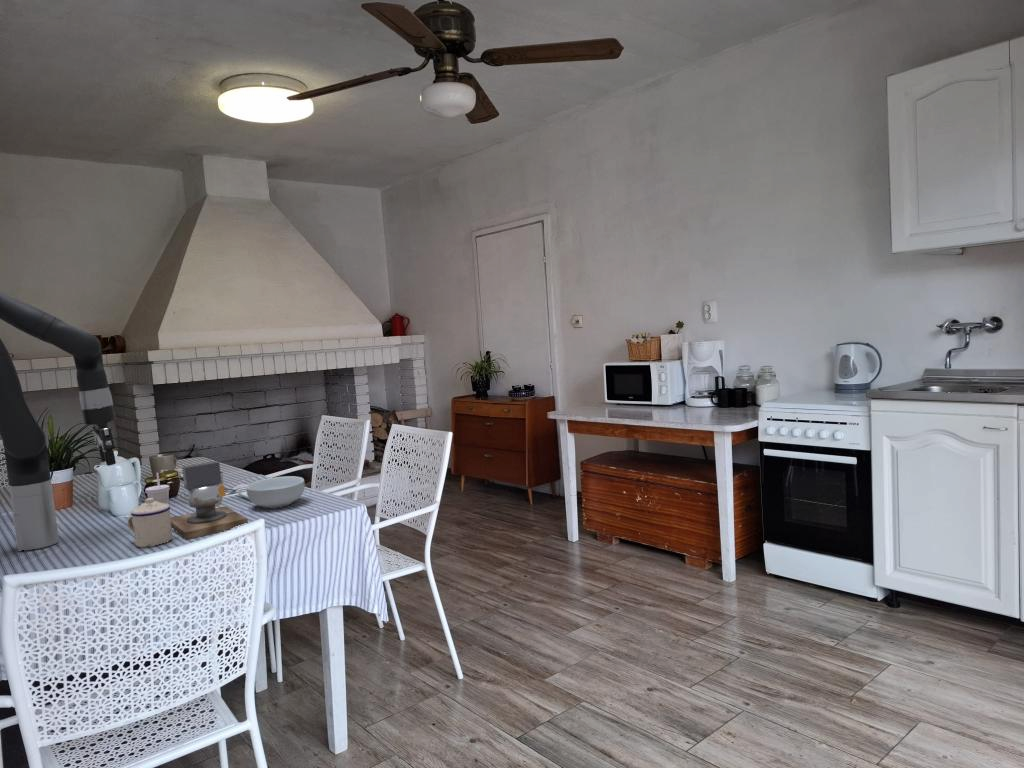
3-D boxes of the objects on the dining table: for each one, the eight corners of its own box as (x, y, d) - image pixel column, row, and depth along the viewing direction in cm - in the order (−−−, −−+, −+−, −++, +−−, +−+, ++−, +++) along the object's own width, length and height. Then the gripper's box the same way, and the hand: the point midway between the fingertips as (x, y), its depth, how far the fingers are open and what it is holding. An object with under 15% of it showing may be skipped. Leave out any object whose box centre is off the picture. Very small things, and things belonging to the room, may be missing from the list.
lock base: (185, 539, 181) (183, 517, 181) (168, 525, 197) (165, 504, 196) (248, 525, 191) (245, 504, 191) (226, 512, 207) (224, 493, 206)
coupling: (191, 509, 188) (187, 469, 187) (184, 504, 194) (179, 465, 193) (229, 501, 194) (225, 462, 193) (221, 497, 200) (216, 459, 199)
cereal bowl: (236, 512, 207) (233, 488, 206) (271, 497, 223) (269, 475, 222) (284, 513, 202) (281, 489, 201) (317, 498, 217) (315, 476, 217)
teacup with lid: (181, 536, 185) (176, 493, 183) (156, 548, 176) (151, 503, 175) (144, 536, 188) (138, 494, 186) (117, 547, 179) (111, 503, 178)
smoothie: (163, 522, 200) (157, 475, 199) (143, 522, 202) (138, 475, 200) (177, 516, 207) (172, 470, 205) (159, 516, 208) (153, 470, 207)
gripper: (77, 406, 194) (89, 463, 196) (85, 409, 182) (97, 469, 185) (108, 401, 198) (119, 456, 200) (117, 404, 187) (128, 462, 189)
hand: (108, 462), depth 192 cm, fingers open, 8 cm apart
